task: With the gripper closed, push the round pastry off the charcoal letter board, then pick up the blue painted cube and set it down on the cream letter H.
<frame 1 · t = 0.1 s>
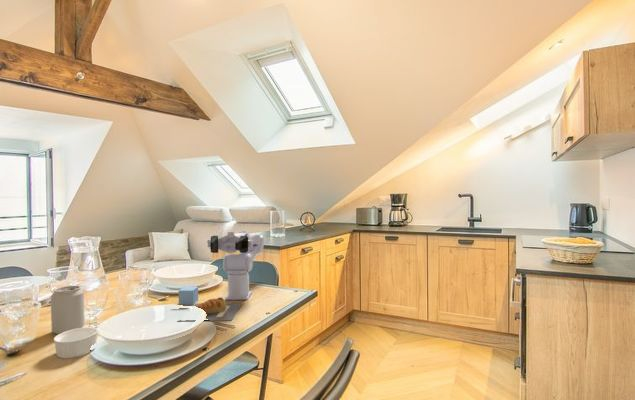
hand: (223, 245, 109), 22 cm above the table, tool horizontal, fingers open, 7 cm apart
ramekin: (76, 352, 86), on the table
pastry: (212, 311, 113), resting on letter board
can: (68, 331, 99), on the table
blue cube: (188, 302, 123), on the table
letter board: (212, 311, 113), on the table
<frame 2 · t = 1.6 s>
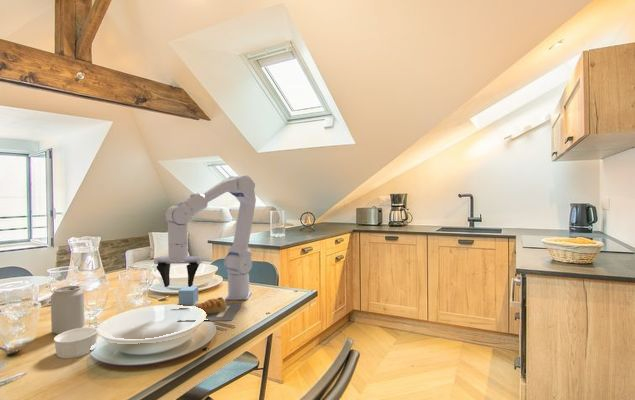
hand: (178, 286, 113), 8 cm above the table, tool pointing down, fingers open, 7 cm apart
nothing on the table moved.
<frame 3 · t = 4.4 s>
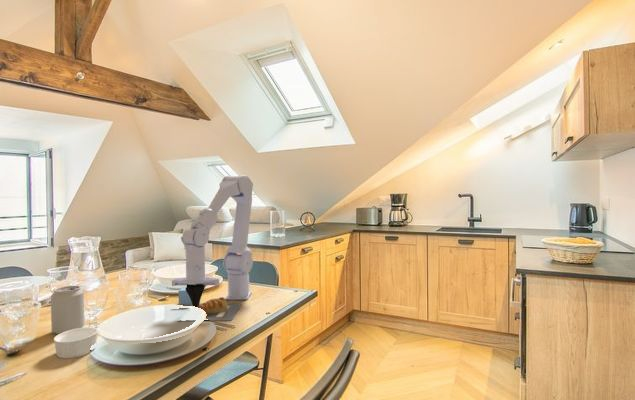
hand: (196, 307, 113), 1 cm above the table, tool pointing down, fingers closed
pastry: (213, 311, 113), resting on letter board, touching gripper
everything else where it was.
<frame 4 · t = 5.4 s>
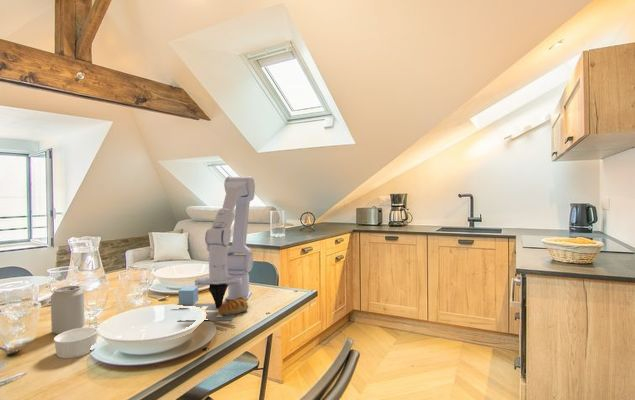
hand: (218, 307, 113), 1 cm above the table, tool pointing down, fingers closed
pastry: (234, 311, 113), resting on letter board, touching gripper
everything else where it was.
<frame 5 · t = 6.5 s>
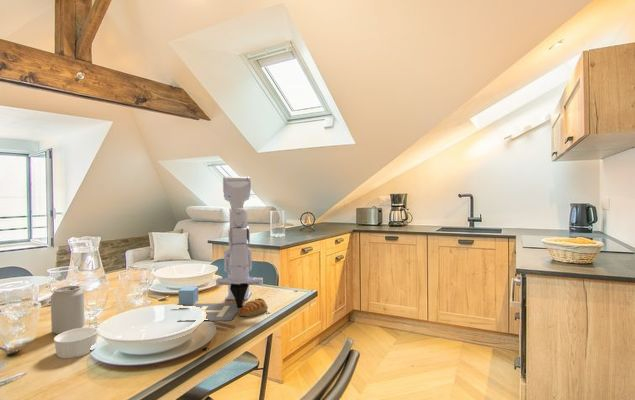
hand: (240, 307, 113), 1 cm above the table, tool pointing down, fingers closed
pastry: (253, 313, 113), on the table, touching gripper
everything else where it was.
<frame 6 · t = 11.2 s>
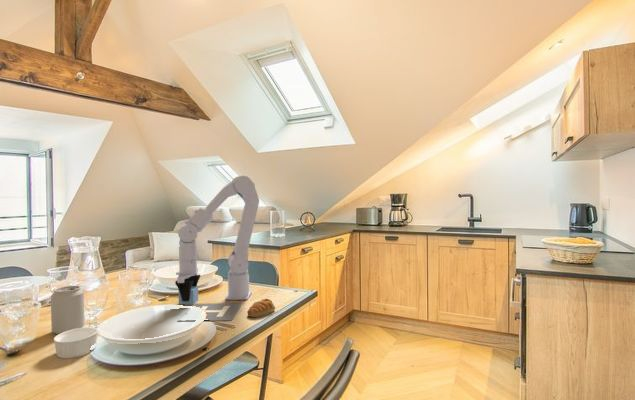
hand: (188, 298, 123), 1 cm above the table, tool pointing down, fingers closed on blue cube, 5 cm apart
pastry: (261, 313, 112), on the table
blue cube: (188, 302, 123), on the table, touching gripper
everything else where it was.
when the fingers open (3 cm above the table, at t = 15.0 s): blue cube drops 1 cm, resting on letter board.
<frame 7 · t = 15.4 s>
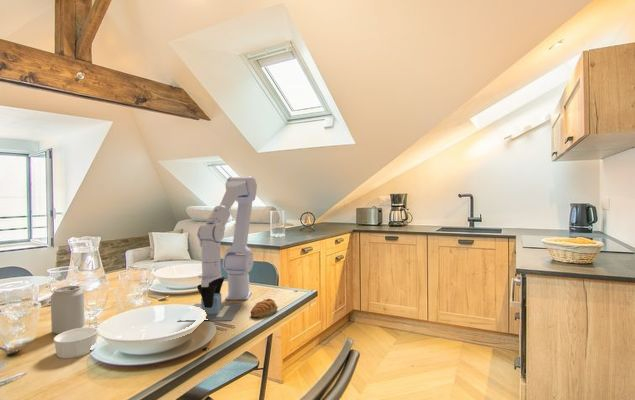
hand: (211, 303, 113), 3 cm above the table, tool pointing down, fingers open, 7 cm apart
blue cube: (211, 311, 113), resting on letter board
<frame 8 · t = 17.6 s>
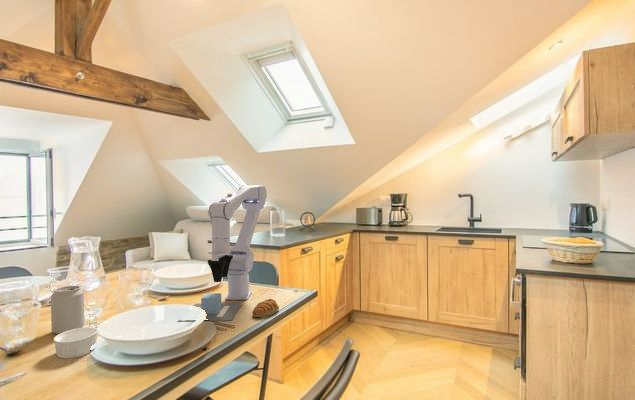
hand: (220, 279, 117), 9 cm above the table, tool pointing down, fingers open, 7 cm apart
at the end: pastry inside the target area (0.7 cm from its centre), on the table; blue cube 0.1 cm off-centre on the letter board, point 0.2 cm above the letter board's base; blue cube tilted 0° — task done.
